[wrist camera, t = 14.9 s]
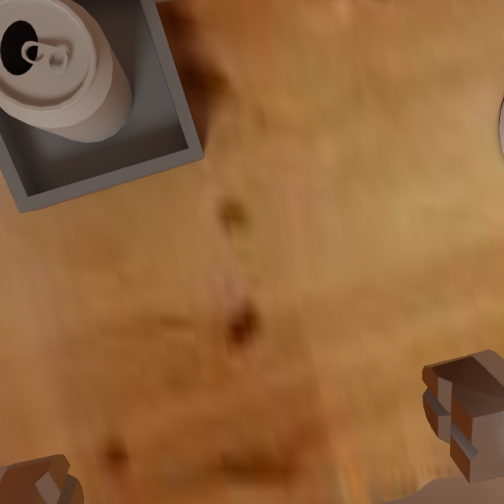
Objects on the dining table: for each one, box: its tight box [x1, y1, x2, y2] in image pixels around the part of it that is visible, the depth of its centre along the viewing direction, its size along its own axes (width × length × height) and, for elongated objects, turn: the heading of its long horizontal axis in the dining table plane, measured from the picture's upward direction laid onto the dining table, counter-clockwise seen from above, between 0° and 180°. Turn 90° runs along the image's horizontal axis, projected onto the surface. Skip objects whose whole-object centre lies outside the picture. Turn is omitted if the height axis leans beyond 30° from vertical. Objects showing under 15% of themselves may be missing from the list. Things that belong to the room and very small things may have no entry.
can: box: [0, 0, 132, 143], centre depth 27 cm, size 8×8×12 cm
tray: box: [0, 0, 204, 213], centre depth 32 cm, size 15×15×4 cm
